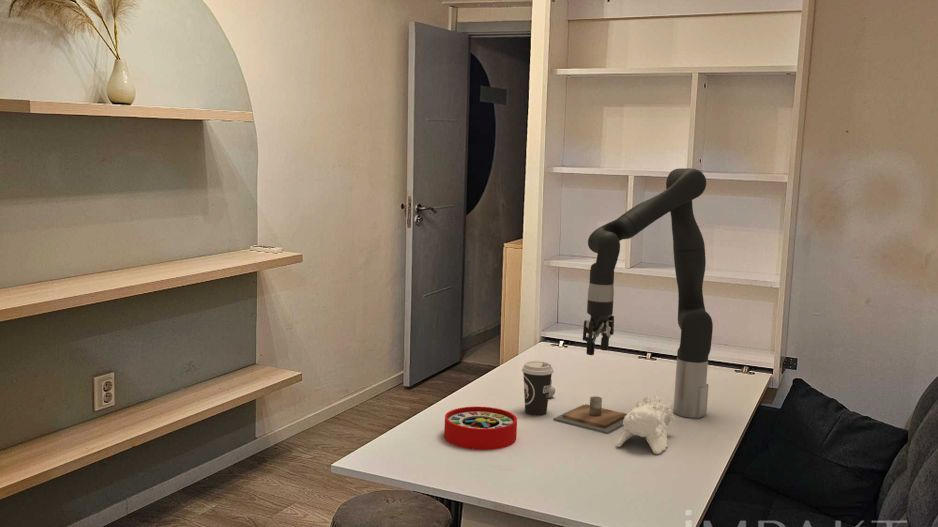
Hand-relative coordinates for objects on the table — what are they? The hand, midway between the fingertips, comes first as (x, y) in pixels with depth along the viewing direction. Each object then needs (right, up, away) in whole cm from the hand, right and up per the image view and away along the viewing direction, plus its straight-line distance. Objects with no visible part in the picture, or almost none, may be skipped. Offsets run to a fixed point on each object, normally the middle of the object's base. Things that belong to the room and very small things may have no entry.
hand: (597, 352), depth 257 cm
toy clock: (-35, -22, -16) cm, 44 cm away
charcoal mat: (0, -20, +2) cm, 20 cm away
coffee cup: (-18, -19, +7) cm, 27 cm away
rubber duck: (-13, -17, +24) cm, 32 cm away
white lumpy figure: (+11, -24, -16) cm, 30 cm away
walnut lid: (0, -20, +2) cm, 20 cm away
